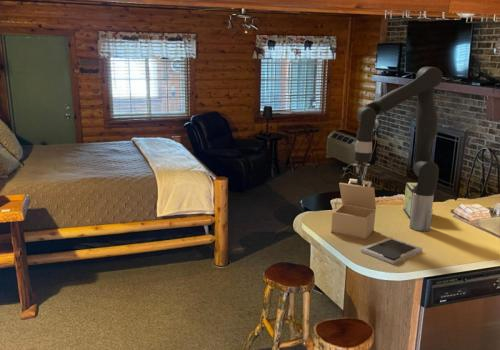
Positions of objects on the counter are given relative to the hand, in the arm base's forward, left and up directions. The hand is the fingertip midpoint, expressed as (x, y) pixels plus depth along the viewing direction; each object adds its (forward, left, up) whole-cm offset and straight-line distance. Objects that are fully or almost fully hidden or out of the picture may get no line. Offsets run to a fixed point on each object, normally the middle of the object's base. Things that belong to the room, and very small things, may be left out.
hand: (359, 187), depth 222 cm
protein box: (-21, -36, -20) cm, 46 cm away
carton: (0, +6, -20) cm, 21 cm away
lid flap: (0, +3, -4) cm, 5 cm away
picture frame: (-21, +21, -21) cm, 36 cm away
